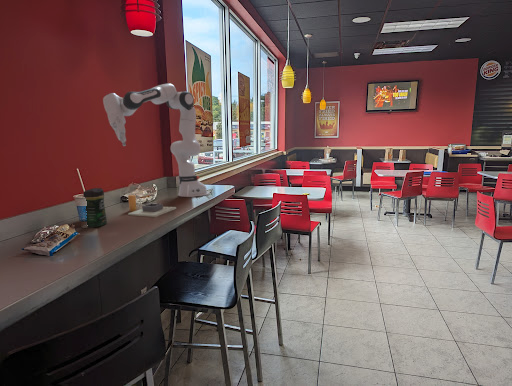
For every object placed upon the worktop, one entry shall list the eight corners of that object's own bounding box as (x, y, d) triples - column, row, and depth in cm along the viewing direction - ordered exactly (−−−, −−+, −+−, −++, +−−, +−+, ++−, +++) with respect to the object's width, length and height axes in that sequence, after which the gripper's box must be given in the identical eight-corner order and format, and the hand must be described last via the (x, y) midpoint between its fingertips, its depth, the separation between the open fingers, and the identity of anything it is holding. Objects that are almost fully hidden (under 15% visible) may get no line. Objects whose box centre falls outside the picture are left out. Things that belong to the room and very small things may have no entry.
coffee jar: (99, 228, 162) (95, 190, 158) (84, 228, 162) (79, 190, 159) (110, 222, 171) (106, 186, 168) (95, 222, 172) (91, 187, 169)
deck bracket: (128, 215, 186) (127, 208, 186) (150, 207, 205) (150, 200, 204) (155, 216, 180) (154, 209, 180) (176, 208, 199) (175, 202, 198)
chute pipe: (128, 211, 196) (126, 196, 195) (132, 209, 200) (131, 194, 198) (133, 211, 195) (132, 196, 193) (138, 210, 199) (136, 195, 197)
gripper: (123, 113, 187) (130, 137, 187) (122, 125, 206) (129, 146, 206) (111, 116, 185) (119, 139, 185) (112, 127, 204) (119, 149, 204)
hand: (124, 143), depth 196 cm, fingers open, 8 cm apart
